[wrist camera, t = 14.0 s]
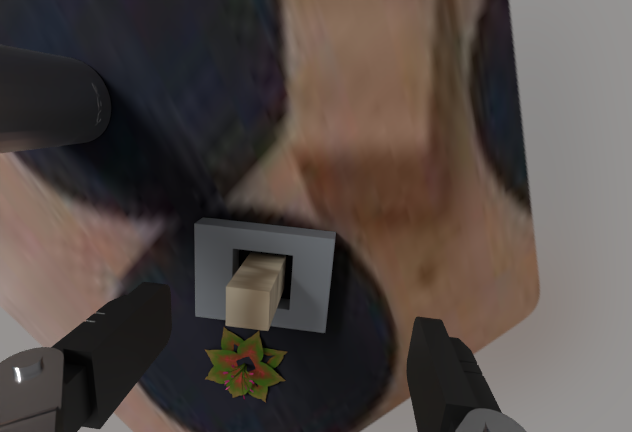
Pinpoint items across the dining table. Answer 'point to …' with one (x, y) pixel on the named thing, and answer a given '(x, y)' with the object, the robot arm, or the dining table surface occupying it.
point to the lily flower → (244, 366)
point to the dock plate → (304, 244)
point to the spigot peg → (255, 291)
